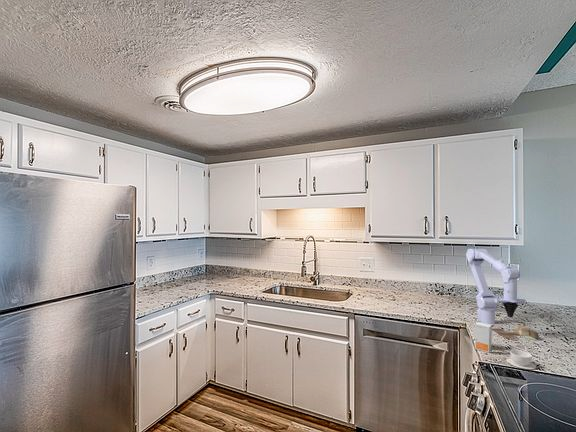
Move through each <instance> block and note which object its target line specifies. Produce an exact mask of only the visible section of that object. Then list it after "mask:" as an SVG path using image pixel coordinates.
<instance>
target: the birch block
mask: <svg viewBox="0 0 576 432" xmlns="http://www.w3.org/2000/svg"><path fill="white" fill-rule="evenodd" d="M515 329H516V333H517V334H519V335H521V336H520V337H524V336H529V329H530V327H528V326H526V325H525V324H520V325H518V324H516V325H515Z"/></svg>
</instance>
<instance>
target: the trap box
mask: <svg viewBox="0 0 576 432" xmlns="http://www.w3.org/2000/svg"><path fill="white" fill-rule="evenodd" d="M517 325H521V324H520V323H517ZM510 330H511V331H512V332H511V331H506V330H504V329H502V328H492V332H494V333H496V334H497V335H499V336H501V337H503V338H504V339H506V340H519V338H517V337H522V336H521V335H519V334H517V333H516V328H513V329H512V328H511V329H510ZM523 337H524V338H526V339H527V340H531V341H538V340H539V333H537V332H536V331H534V330H531V329H530V328H529V336H523Z"/></svg>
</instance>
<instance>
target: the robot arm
mask: <svg viewBox="0 0 576 432" xmlns="http://www.w3.org/2000/svg"><path fill="white" fill-rule="evenodd" d="M465 256H466V259H467V261H468V265H469V268H470V270H471V273H472V276H473V279H474V282H475V285H476V288H477V291H478V294H476V296H475V298H476V305H477V307H478V308H477V309H476V320H475V321H476V322H479V321H480V323H486V324H490V325H495V324H496V310H497V309H498V308H499V306H500V304H502V305H503V306H504V309H505V312H506V315H507V317H509V318H513V317H514V314H515V311H516V310H517V308H518V307H519V304H523V305H524V304H525V305H526V303H527V300H526V299H524V298H518V279H519V278H520V277H521V272H520V270H519V269H518V268H517V267H513V266H510V265H509V264H507V263H505V261H504V260H502V259H498V260H497V259H496V258H495V257H494V256H493V255H491V254H490V252H489V251H488V250H487V249H486V248H468V249H467V251H466V253H465ZM485 261H486V262H487V263H489V264H490V265H492V269H494V270H495V271H497V272H498V273H500V276H501V278H502V282H503V297H500V298H499V297H498V298H497V297H496V295H495V294H494V293H493V292H492V291H490V288H489V285H488V283H487V281H486V278H485V275H484V272H483V269H482V266H481V265H482V264H483V263H484V262H485Z"/></svg>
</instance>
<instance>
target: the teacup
mask: <svg viewBox="0 0 576 432" xmlns="http://www.w3.org/2000/svg"><path fill="white" fill-rule="evenodd" d="M509 354H510V357H509V358H506V359H505V360H506V361H505V362H507V363H508V364H509V365H511V366H514V367H517V368H519V369H525V370H535V369H536V368H537V366H536V364H534V363H533V362H532V359H533V354H531V353H529V352H528V351H524V350H521V349H520V350H519V349H511V350H510V351H509Z"/></svg>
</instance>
